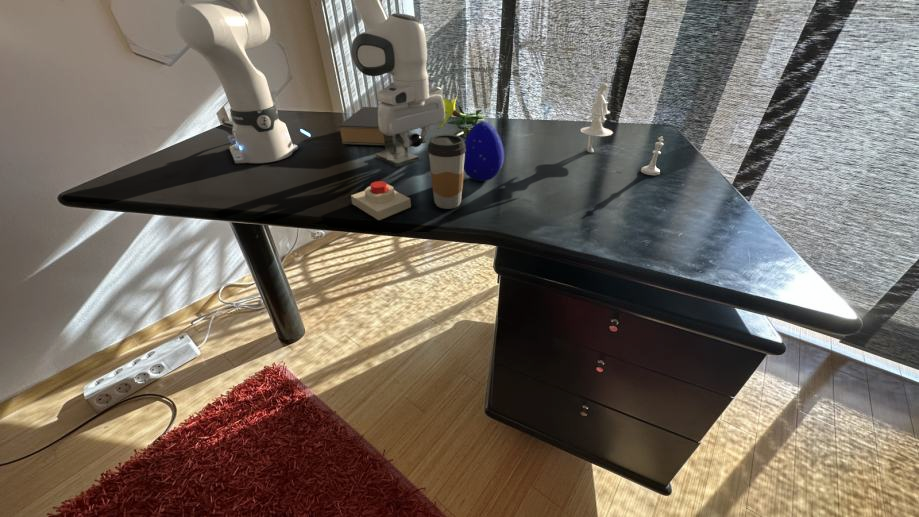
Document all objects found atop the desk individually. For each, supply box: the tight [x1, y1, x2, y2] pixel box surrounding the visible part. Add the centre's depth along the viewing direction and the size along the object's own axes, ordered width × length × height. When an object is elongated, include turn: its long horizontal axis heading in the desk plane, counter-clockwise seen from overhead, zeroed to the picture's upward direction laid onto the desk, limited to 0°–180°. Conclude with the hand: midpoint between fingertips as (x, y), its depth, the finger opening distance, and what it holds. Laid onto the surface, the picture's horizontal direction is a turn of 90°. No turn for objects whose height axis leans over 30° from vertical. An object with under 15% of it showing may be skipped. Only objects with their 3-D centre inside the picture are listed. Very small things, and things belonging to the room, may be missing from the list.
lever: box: [407, 131, 423, 148], centre depth 100 cm, size 13×4×4 cm, turn 45°
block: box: [350, 184, 412, 221], centre depth 83 cm, size 11×9×4 cm
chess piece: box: [640, 135, 665, 176], centre depth 98 cm, size 5×5×10 cm
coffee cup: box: [427, 134, 466, 210], centre depth 81 cm, size 8×8×15 cm
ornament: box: [464, 121, 506, 182], centre depth 92 cm, size 11×9×15 cm
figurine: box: [580, 82, 614, 154], centre depth 109 cm, size 13×10×20 cm
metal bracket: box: [375, 133, 420, 168], centre depth 105 cm, size 11×8×13 cm
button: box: [370, 180, 388, 194], centre depth 82 cm, size 4×4×2 cm
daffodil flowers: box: [437, 86, 490, 140], centre depth 116 cm, size 17×15×35 cm
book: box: [338, 106, 396, 146], centre depth 125 cm, size 17×25×7 cm
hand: (415, 144), depth 99 cm, fingers closed on lever, 3 cm apart
